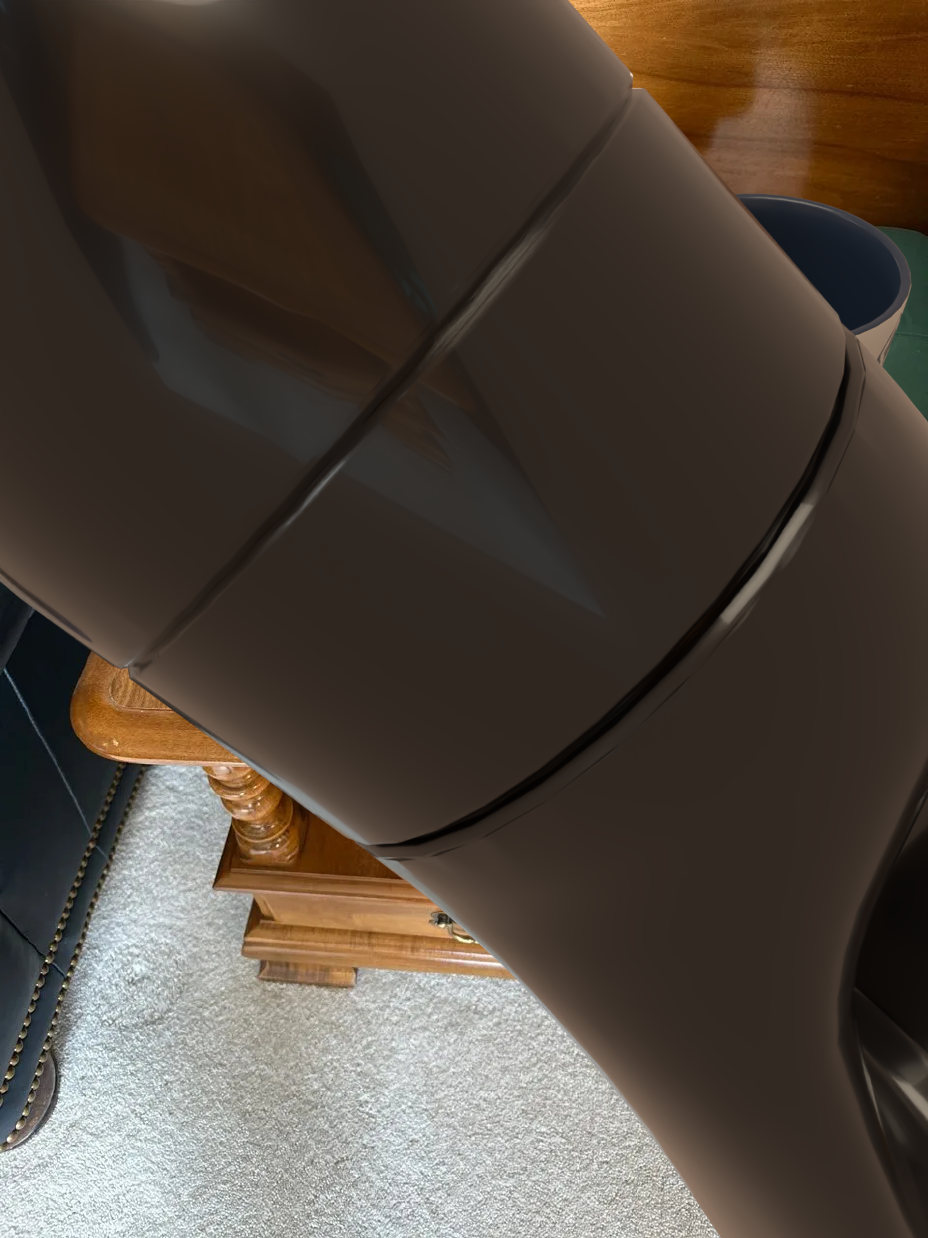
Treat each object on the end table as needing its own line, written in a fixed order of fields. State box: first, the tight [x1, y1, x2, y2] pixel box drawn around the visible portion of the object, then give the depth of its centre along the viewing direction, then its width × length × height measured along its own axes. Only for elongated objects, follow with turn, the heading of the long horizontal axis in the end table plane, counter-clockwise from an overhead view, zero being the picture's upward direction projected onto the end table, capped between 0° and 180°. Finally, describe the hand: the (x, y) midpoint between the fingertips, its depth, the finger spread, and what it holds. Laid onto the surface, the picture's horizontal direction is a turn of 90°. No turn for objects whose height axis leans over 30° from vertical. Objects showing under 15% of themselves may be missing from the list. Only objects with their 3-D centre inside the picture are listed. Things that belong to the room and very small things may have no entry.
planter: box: [735, 193, 912, 368], centre depth 67 cm, size 18×18×16 cm
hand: (555, 655), depth 45 cm, fingers open, 8 cm apart
